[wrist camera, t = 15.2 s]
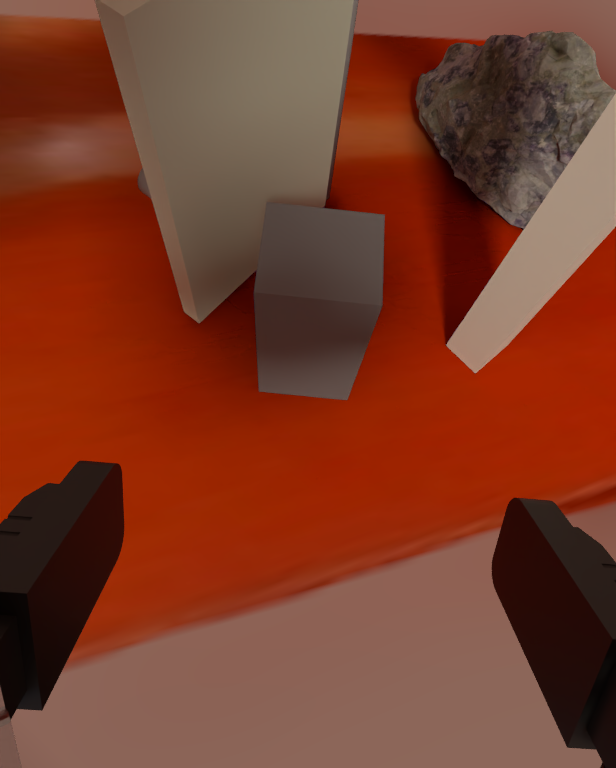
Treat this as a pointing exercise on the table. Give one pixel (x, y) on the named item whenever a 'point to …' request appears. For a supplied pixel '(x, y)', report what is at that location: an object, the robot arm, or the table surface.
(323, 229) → the block
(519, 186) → the mineral rock
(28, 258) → the table surface
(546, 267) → the door frame
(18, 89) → the table surface
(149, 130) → the door
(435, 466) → the table surface
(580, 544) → the robot arm
